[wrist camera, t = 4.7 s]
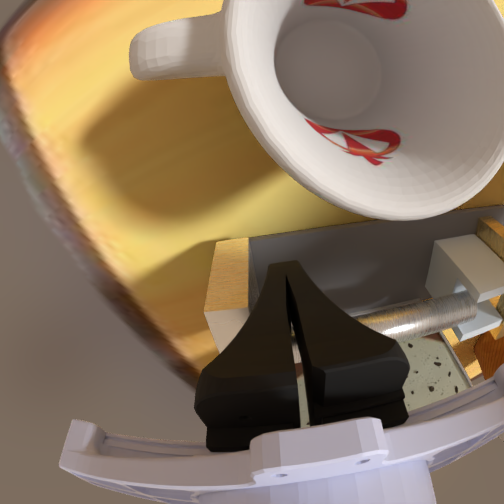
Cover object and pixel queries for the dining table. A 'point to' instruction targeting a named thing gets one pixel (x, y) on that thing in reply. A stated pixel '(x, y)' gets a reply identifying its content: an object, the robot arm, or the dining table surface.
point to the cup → (355, 93)
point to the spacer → (500, 243)
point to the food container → (415, 370)
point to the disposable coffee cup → (490, 356)
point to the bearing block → (467, 279)
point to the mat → (368, 256)
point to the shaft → (243, 301)
